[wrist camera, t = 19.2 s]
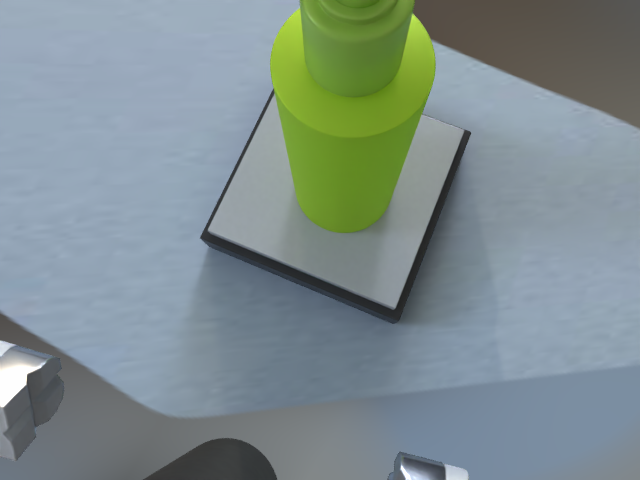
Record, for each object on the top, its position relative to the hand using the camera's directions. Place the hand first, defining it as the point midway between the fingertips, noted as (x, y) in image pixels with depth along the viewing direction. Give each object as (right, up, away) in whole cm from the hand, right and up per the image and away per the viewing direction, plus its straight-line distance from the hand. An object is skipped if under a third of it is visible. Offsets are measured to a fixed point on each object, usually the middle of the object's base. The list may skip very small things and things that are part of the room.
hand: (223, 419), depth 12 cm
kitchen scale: (+3, +7, +22) cm, 23 cm away
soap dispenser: (+3, +8, +19) cm, 21 cm away
